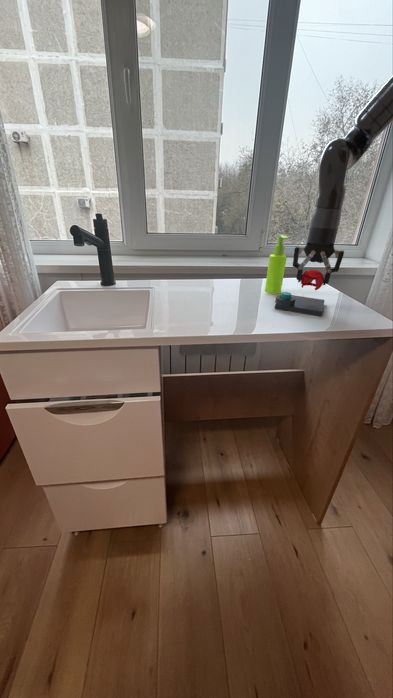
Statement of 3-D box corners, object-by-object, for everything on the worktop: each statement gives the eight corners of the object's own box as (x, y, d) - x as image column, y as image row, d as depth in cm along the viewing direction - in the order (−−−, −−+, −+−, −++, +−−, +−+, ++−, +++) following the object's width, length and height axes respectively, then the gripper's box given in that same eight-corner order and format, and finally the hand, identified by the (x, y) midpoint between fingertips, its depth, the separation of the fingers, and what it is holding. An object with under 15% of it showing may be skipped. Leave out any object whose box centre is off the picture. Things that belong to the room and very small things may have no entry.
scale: (323, 304, 96) (326, 294, 94) (321, 317, 86) (323, 306, 84) (279, 298, 101) (281, 288, 99) (272, 309, 91) (274, 298, 89)
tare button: (291, 298, 91) (292, 292, 91) (289, 300, 89) (290, 295, 88) (281, 296, 92) (282, 291, 92) (279, 299, 90) (280, 294, 89)
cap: (296, 284, 94) (300, 266, 91) (314, 285, 94) (318, 266, 91) (305, 292, 87) (309, 272, 84) (324, 292, 87) (329, 272, 84)
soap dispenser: (268, 294, 104) (276, 236, 94) (262, 289, 110) (270, 233, 100) (283, 294, 104) (294, 236, 94) (277, 289, 110) (286, 233, 100)
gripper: (296, 225, 81) (286, 282, 89) (352, 228, 76) (336, 289, 84) (299, 223, 87) (289, 277, 95) (351, 226, 82) (336, 283, 90)
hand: (311, 282), depth 90 cm, fingers closed on cap, 7 cm apart
